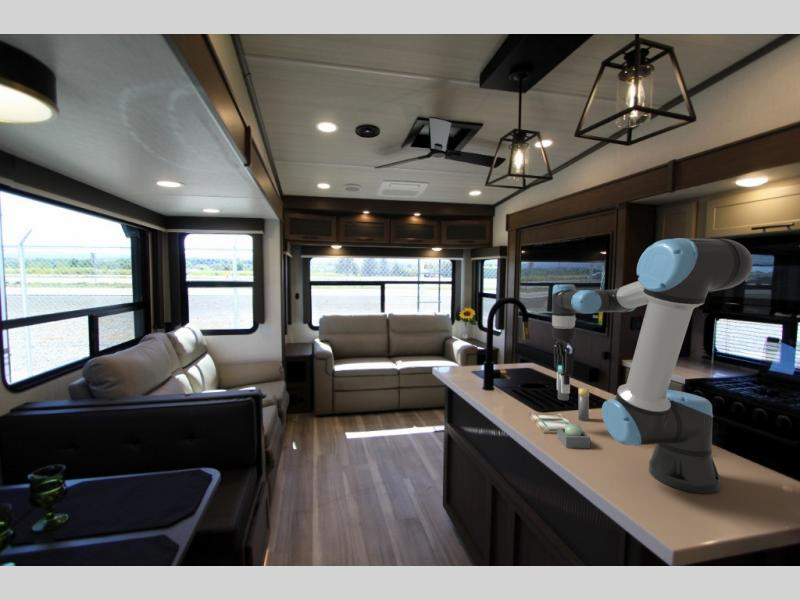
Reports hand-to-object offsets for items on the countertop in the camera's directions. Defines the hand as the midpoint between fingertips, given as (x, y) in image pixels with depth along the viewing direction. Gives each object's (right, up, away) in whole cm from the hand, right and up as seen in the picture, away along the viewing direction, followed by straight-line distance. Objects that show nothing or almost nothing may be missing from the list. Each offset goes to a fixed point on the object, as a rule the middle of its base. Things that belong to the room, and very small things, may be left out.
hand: (563, 391), depth 130 cm
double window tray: (-1, -14, +6) cm, 15 cm away
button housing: (-2, -15, -11) cm, 18 cm away
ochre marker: (+13, -14, +10) cm, 21 cm away
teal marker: (0, -3, 0) cm, 3 cm away
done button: (-2, -13, -11) cm, 17 cm away
